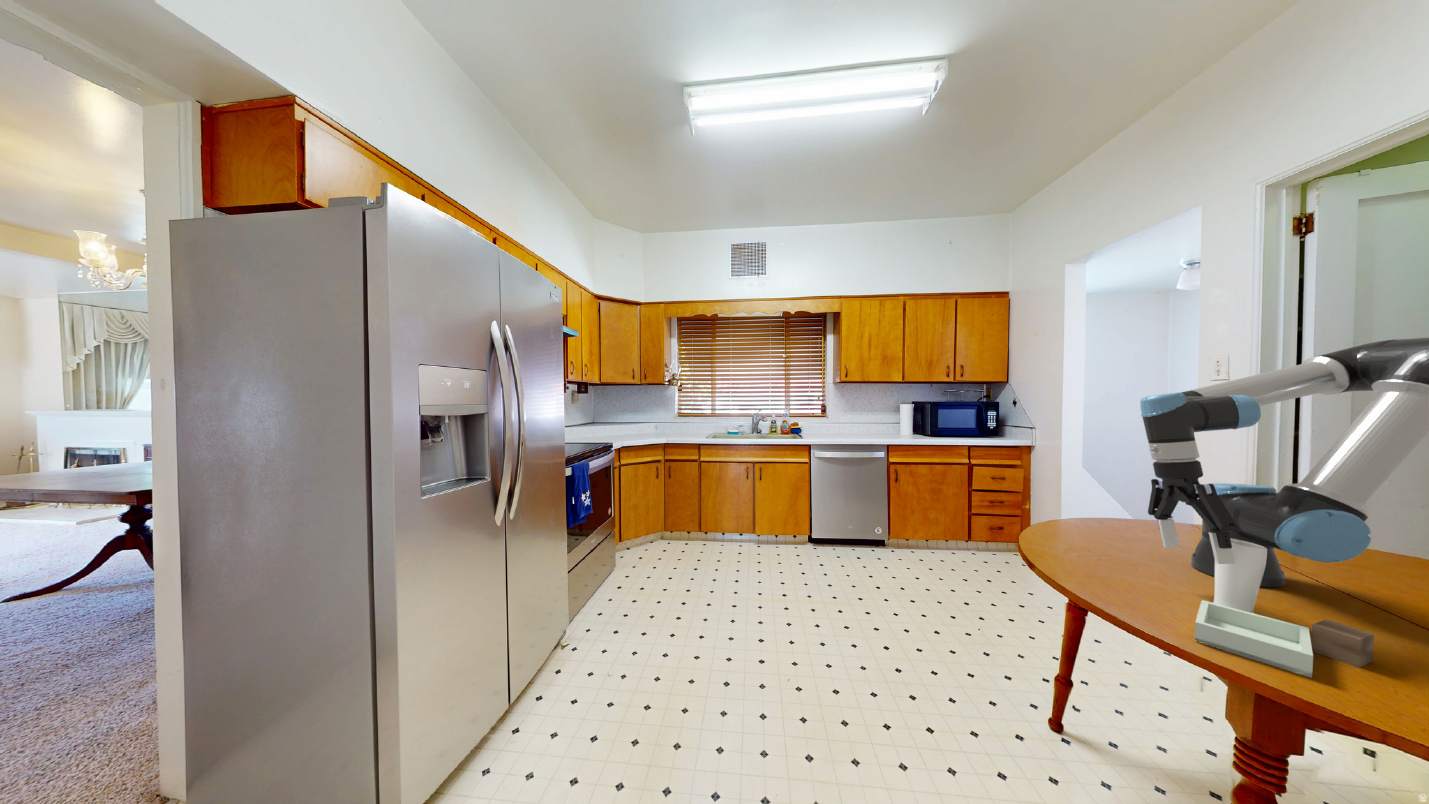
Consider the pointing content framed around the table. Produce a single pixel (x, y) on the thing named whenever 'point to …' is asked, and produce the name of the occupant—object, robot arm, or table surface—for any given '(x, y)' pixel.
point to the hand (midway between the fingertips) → (1196, 555)
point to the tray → (1255, 637)
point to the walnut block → (1342, 643)
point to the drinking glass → (1240, 576)
